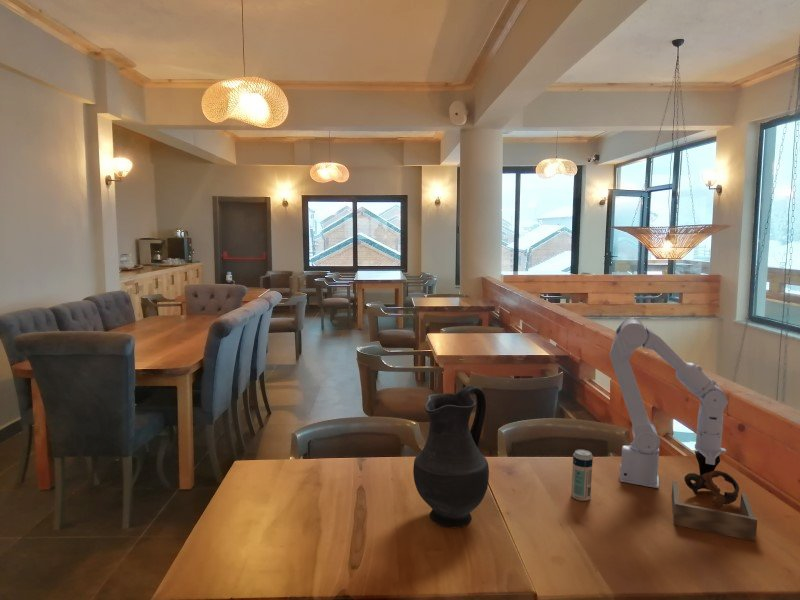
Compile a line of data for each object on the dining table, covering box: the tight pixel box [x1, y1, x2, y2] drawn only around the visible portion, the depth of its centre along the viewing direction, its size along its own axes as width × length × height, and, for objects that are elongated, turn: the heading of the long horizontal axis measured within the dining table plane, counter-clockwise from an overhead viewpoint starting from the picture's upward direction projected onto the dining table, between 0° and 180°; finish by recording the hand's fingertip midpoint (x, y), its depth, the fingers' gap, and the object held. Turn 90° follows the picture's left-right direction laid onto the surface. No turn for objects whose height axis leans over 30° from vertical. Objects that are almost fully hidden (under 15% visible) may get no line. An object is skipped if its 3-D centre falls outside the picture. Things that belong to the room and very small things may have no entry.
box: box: [671, 480, 758, 542], centre depth 129 cm, size 16×16×5 cm
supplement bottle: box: [570, 448, 594, 502], centre depth 137 cm, size 5×5×12 cm
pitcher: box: [413, 384, 490, 528], centre depth 127 cm, size 17×21×30 cm
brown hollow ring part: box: [683, 470, 740, 508], centre depth 138 cm, size 12×10×8 cm
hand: (705, 480), depth 143 cm, fingers closed
